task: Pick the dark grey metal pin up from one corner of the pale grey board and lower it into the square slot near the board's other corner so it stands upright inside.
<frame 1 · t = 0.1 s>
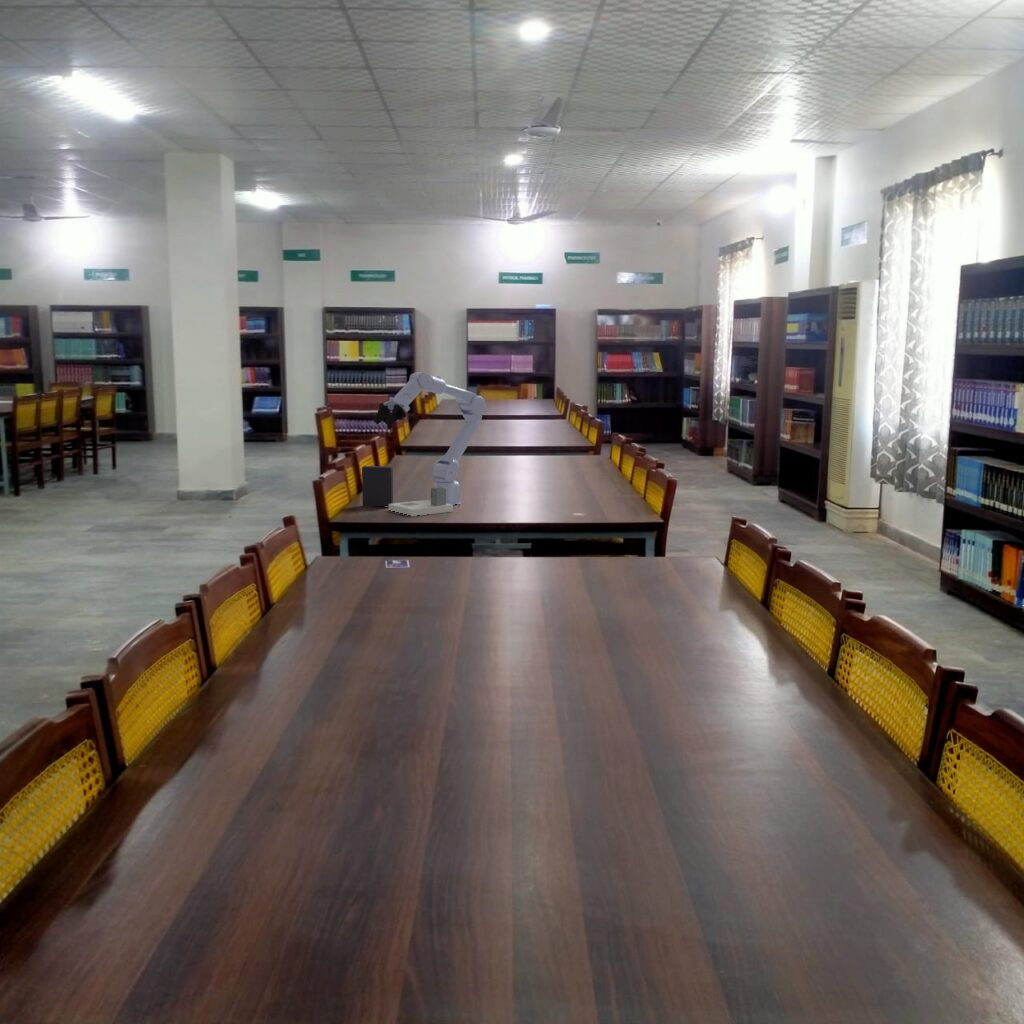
hand: (381, 422, 346), 32 cm above the table, tool tilted 50°, fingers open, 7 cm apart
slot board: (420, 511, 352), on the table
dark grey rectangular block: (378, 507, 362), on the table
pin: (438, 504, 352), point 2 cm above the table, touching slot board
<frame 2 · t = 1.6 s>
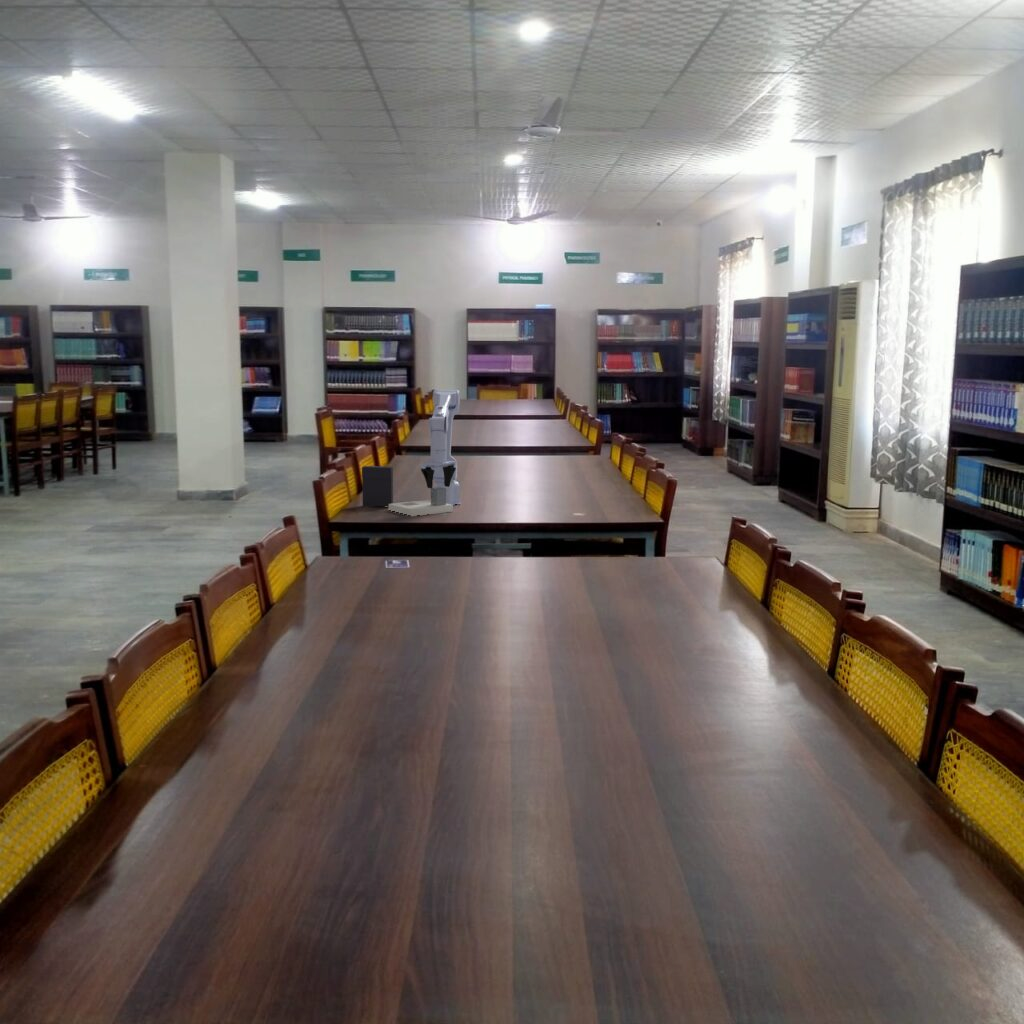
hand: (438, 487, 351), 9 cm above the table, tool pointing down, fingers open, 7 cm apart
nothing on the table moved.
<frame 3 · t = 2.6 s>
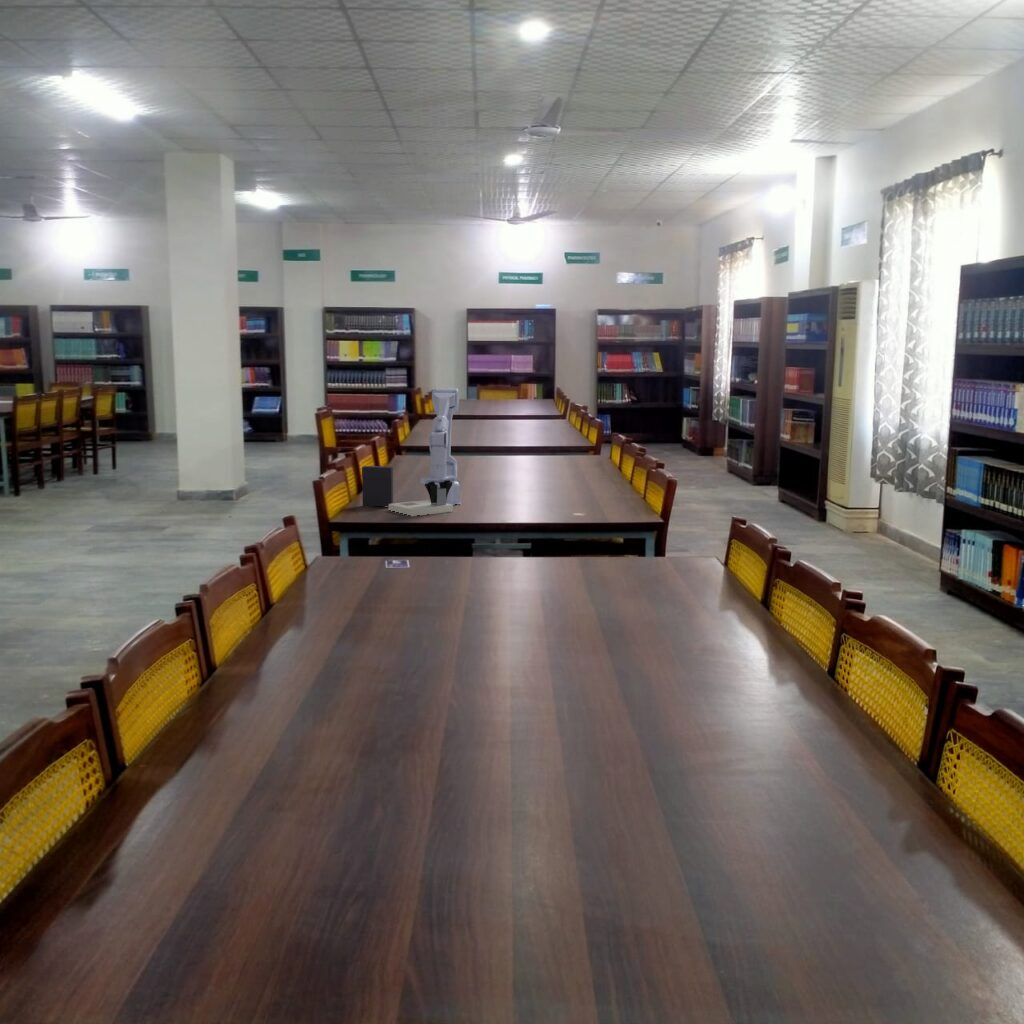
hand: (438, 502, 352), 3 cm above the table, tool pointing down, fingers closed on pin, 4 cm apart
pin: (438, 504, 352), point 2 cm above the table, touching gripper, slot board
everything else where it was.
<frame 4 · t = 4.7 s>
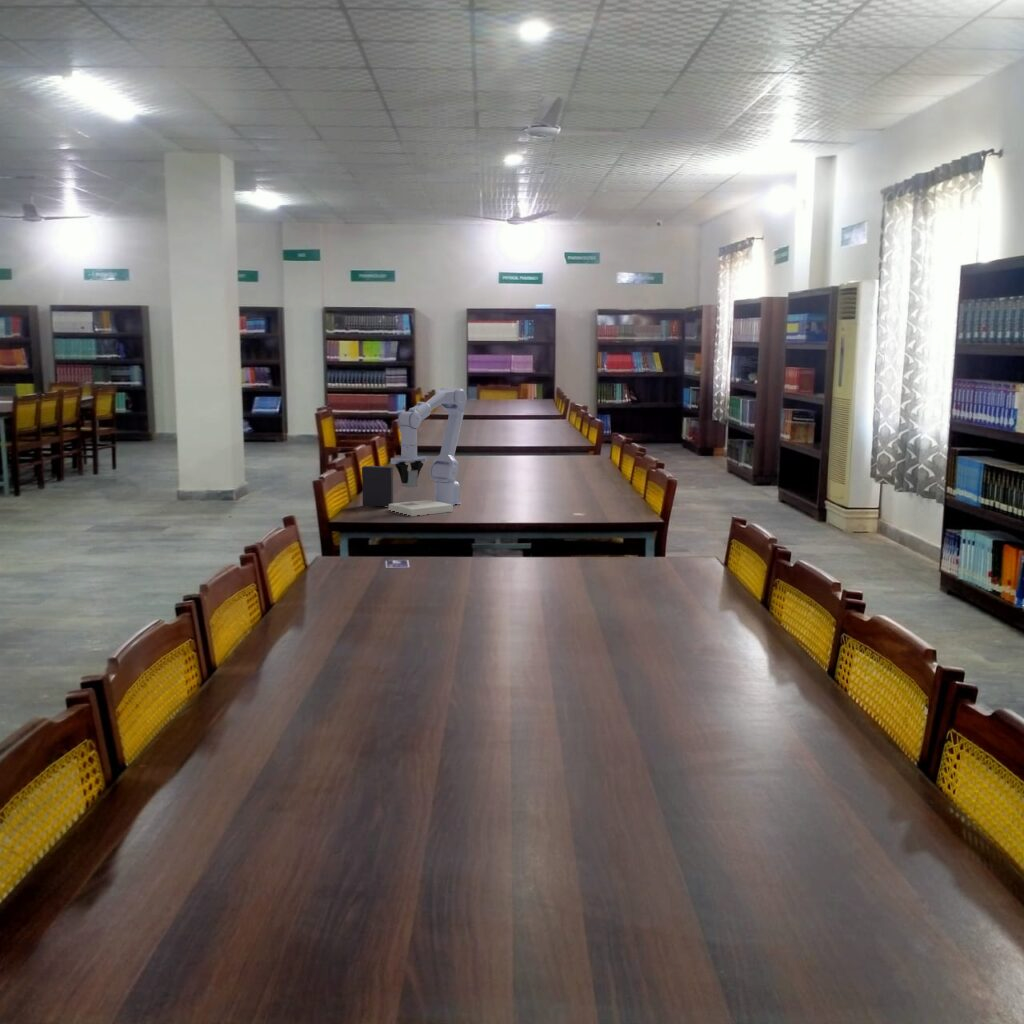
hand: (409, 482, 351), 10 cm above the table, tool pointing down, fingers closed on pin, 4 cm apart
pin: (409, 486, 351), point 9 cm above the table, touching gripper
everything else where it was.
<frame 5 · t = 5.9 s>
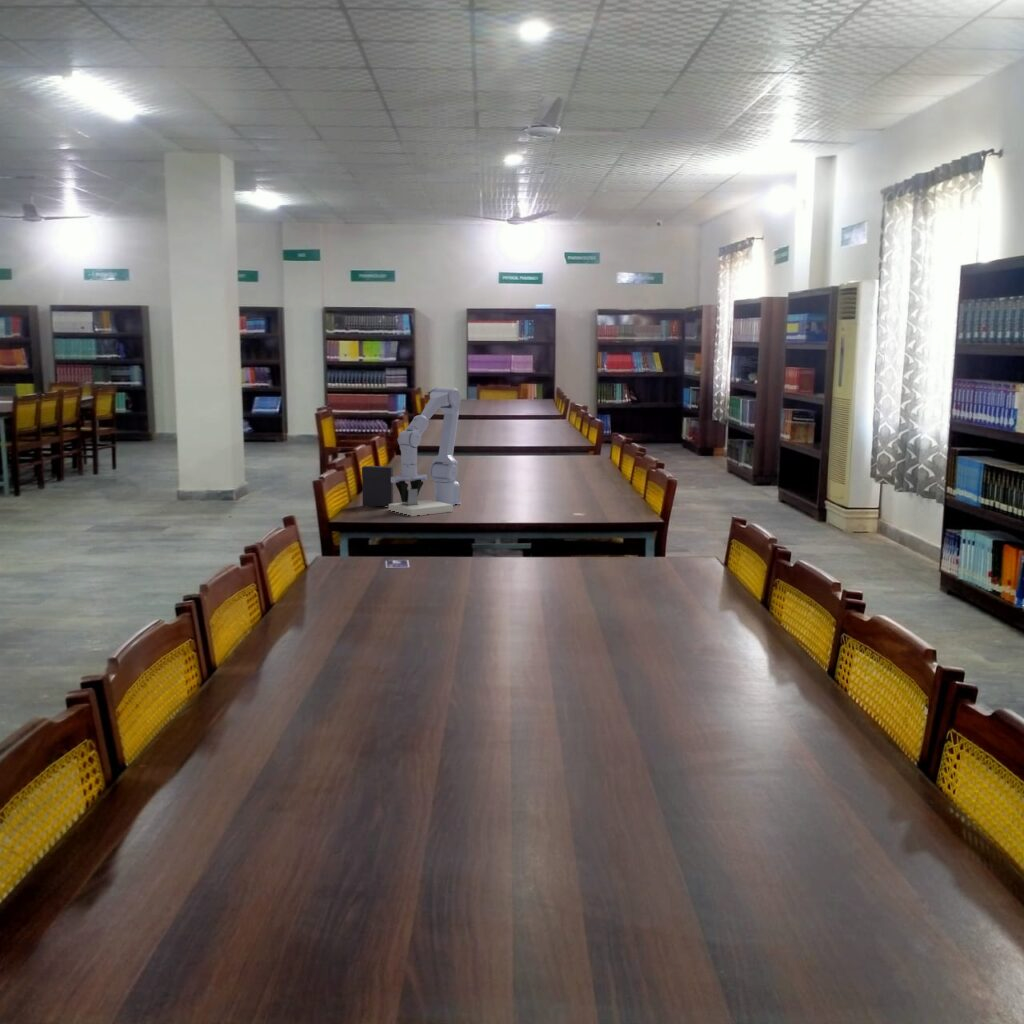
hand: (409, 501, 352), 4 cm above the table, tool pointing down, fingers closed on pin, 4 cm apart
pin: (409, 504, 352), point 2 cm above the table, touching gripper
everything else where it was.
when the fingers open (3 cm above the table, at t = 6.9 s): pin drops 2 cm, resting in slot board.
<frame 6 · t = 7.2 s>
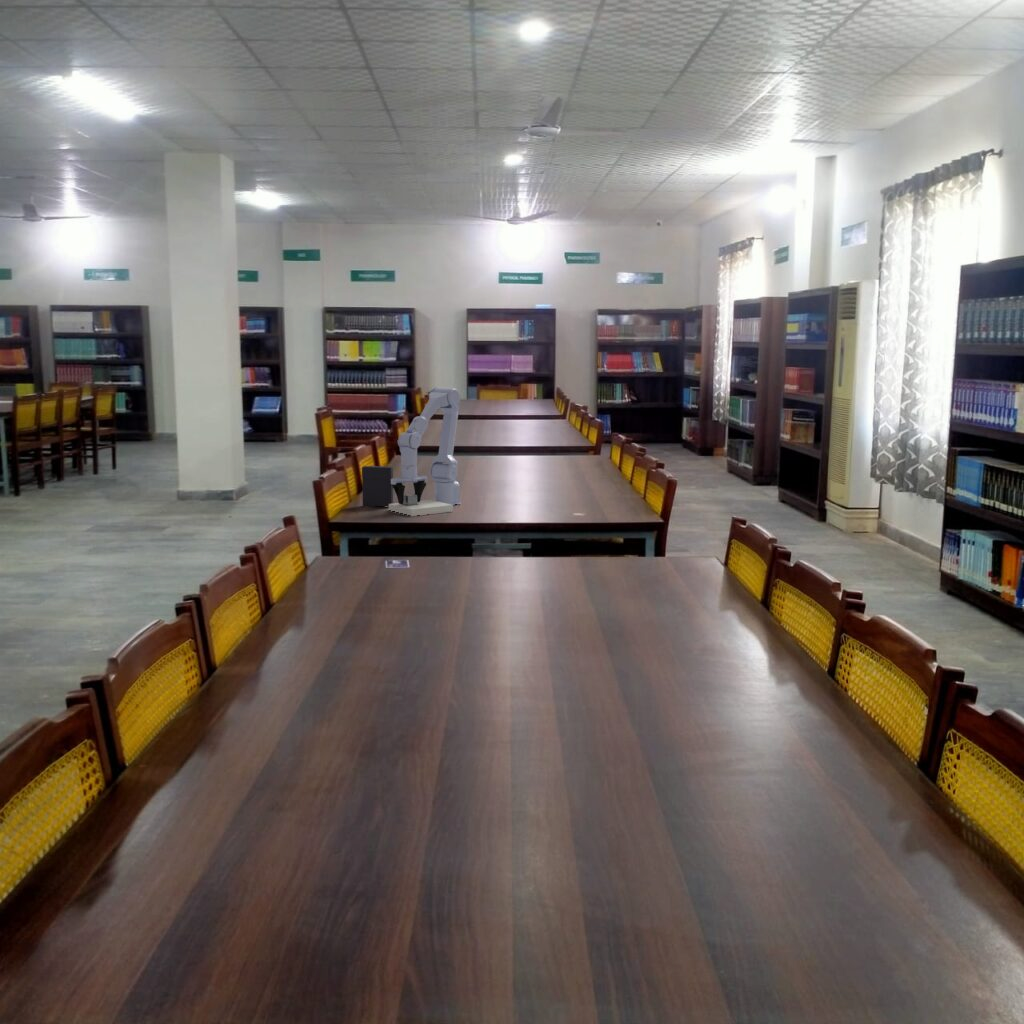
hand: (409, 502, 352), 3 cm above the table, tool pointing down, fingers open, 7 cm apart
pin: (409, 511, 353), resting in slot board
everything else where it was.
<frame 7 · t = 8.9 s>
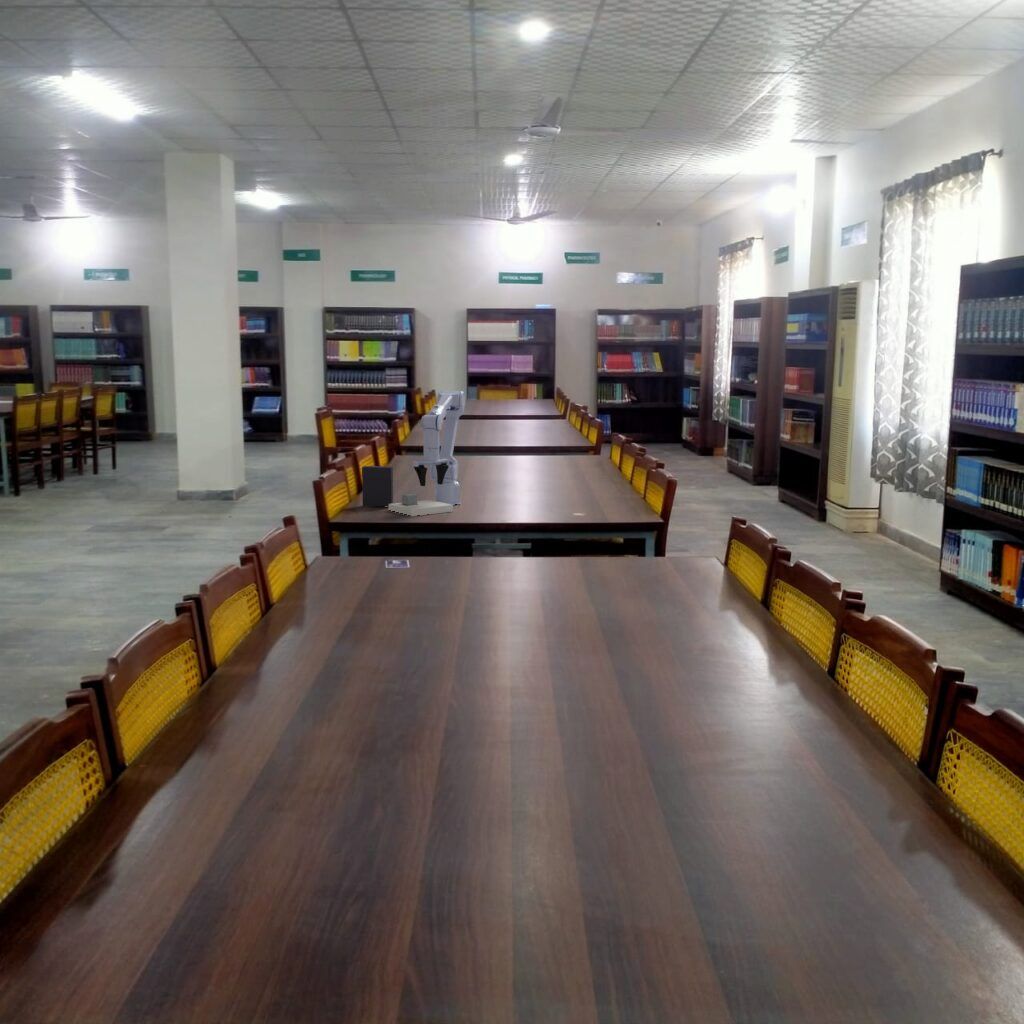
hand: (431, 485, 353), 9 cm above the table, tool pointing down, fingers open, 7 cm apart
nothing on the table moved.
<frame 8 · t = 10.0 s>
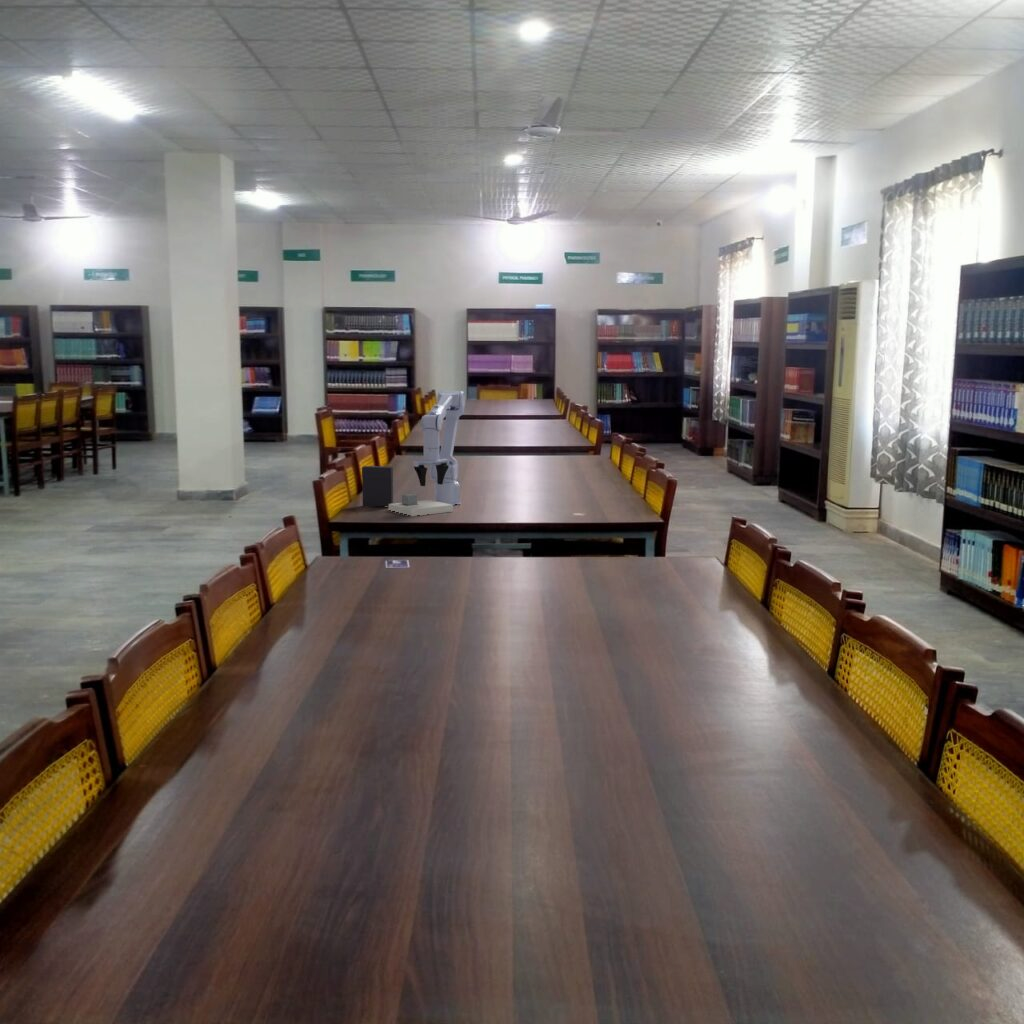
hand: (431, 485, 353), 9 cm above the table, tool pointing down, fingers open, 7 cm apart
nothing on the table moved.
at the end: pin 0.3 cm from the target spot, resting in slot board; pin tilted 0°; the gripper is holding nothing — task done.
